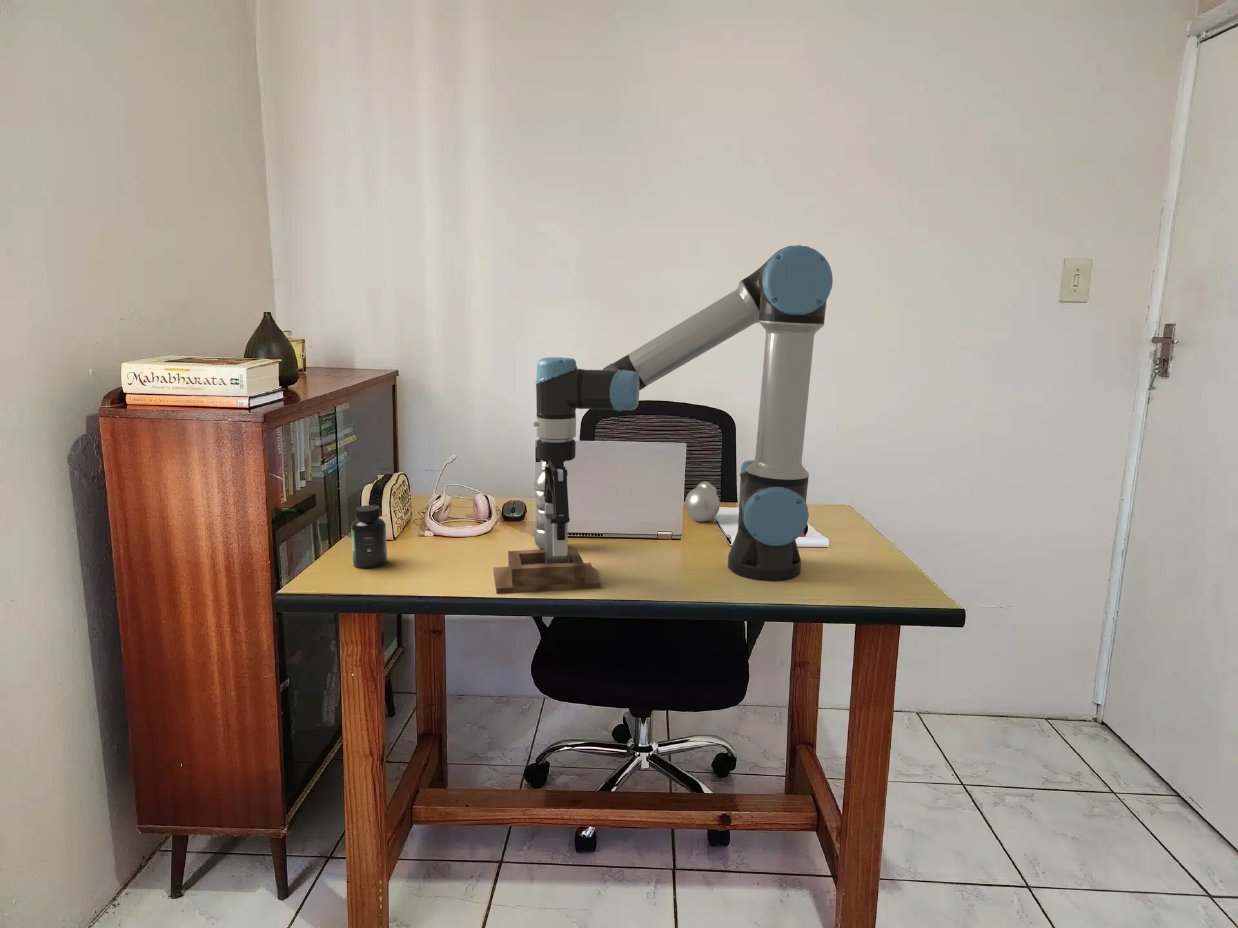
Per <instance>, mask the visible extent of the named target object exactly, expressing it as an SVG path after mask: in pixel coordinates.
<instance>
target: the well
mask: <svg viewBox="0 0 1238 928" xmlns="http://www.w3.org/2000/svg"><path fill="white" fill-rule="evenodd" d="M507 554H508V555H507V557H508V558H507V559H508V562H507V563H508V566H495V567H494V566H493V568H492V569H493V577H494V585H495V593H496V594H507V593H508V594H509V593H510V594H511V593H523V592H524V593H527V592H543V591H544V592H548V591H563V590H579V589H580V590H583V589H600V588H601V581H600V579H599V577H598V575H597V572H596V571H595V569H594V567H593V565H592V563H591V562H584V561H583V558H582V556H581V554H580V553H579V550H578V548H577V547H572V548H570V547H568V551H567V563H556V564H535V563H545V549H526V550H525V549H522V550H508V553H507ZM525 564H535V565H525Z"/></svg>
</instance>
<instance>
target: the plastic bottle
mask: <svg viewBox="0 0 1238 928" xmlns="http://www.w3.org/2000/svg"><path fill="white" fill-rule="evenodd" d="M545 467H546V461H542V460H540V466H539V469H540V471H541V472H540V473H539V474H538V475H537V476H536V477H535V479H534V484H533V486H534V487H533V489H534V494H535V500H536V502H535V503H536V523H535V524H536V526H535V528H534V529H535V530H534V543H535V545H536V547H538V548H539V549H540V550H544V549H545V504H547V503H545V497H544V487H545Z"/></svg>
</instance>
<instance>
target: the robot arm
mask: <svg viewBox="0 0 1238 928" xmlns="http://www.w3.org/2000/svg"><path fill="white" fill-rule="evenodd" d="M832 272H833V271H832V269H831V266H830V264H829V261H828V260H827V259H826V257H825V256H824V255H823V254H821V253H820V252H819V251H818V250H817V249H815V248H813V247H809V246H808V245H807V246H806V245H802V244H801V245H800V244H797V245H788V246H785V247H783V248H780V249H779V250H777V251H776V252H774V254H773V255H771V256H770V257H769V258H768V259H767V261H765V262H764V263H763V264H762V265H761V266H760V267H759V268H757V269H756V270H755V271H754V272H752V273H751V274H749V275H748V276H746V277H745V278H743V279H742V280H740V281H739V283H738V287H737V288H736V289H734V290H733V291H731V292H729V293H728V294H726V295H725V296H723V297H721V298H720V299H718V300H717V301H715V302H713V303H711V304H710V305H708V306H706V307H705V308H703V309H701V310H699V311H698V312H696V313H695V314H692V315H691V316H690V317H688V318H686V319H684V320H683V321H681V322H680V323H678V324H676V325H675V326H673V327H671V328H670V329H668V330H666V331H663V333H661V334H659V335H657V336H656V337H654V338H652V339H651V340H650V341H647V342H646V343H644V344H643V345H642V346H640V347H637V348H635V350H632V351H631V352H629V353H628V354H627V355H624V356H623V357H621V358H619V359H618V360H616V361H615V362H612V363H610V364H608V365H606V366H605V367H604V368H602V369H584V368H583V369H582V368H578V365H577V361H576V360H575V358H571V357H558V356H557V357H555V356H554V357H551V356H550V357H544V358H540V359H539V360H538V362H537V364H536V380H535V388H536V389H535V391H536V393H535V394H536V398H535V399H536V400H535V401H536V420H537V421H533V427H535V428H536V437H537V438H538V439H537V440H536V450H535V451H536V452H535V453H536V458H537V459H538V460H540V461H541V460H542V461H546V467H545V487H544V497H545V503H547V504H545V514H554V519H551V521H550V524H553V556H567V551H568V548H569V547H568V545H569V544H568V543H569V542H568V533H569V531H568V527H569V526H568V525H569V524H568V523H570V520H571V519H570V511H569V509H570V508H569V493H568V490H569V489H568V474H569V473H568V469H566V466H565V462H569V461H573V460H575V458H576V449H577V448H576V447H577V445H576V442H577V441H576V440H575V439H574V438H576V435H577V414H576V411H577V409H579V410H584V409H585V410H604V411H606V410H607V411H617V412H622V411H634V410H636V409H637V408H638V405H639V402H640V400H639V399H640V391H642V390H643V389H645V388H646V387H648V386H649V385H651V384H653V383H654V382H656V381H658V380H659V379H661V378H663V377H664V376H667V375H668V374H670V373H672V372H673V371H675V370H677V369H679V368H681V367H682V366H684V365H686V364H687V363H689V362H691V361H692V360H695V359H696V358H698V357H699V356H701V355H703V354H704V353H707V352H708V351H709V350H711V349H714V348H716V346H718V345H720V344H722V343H723V342H725V341H727V340H729V339H730V338H733V337H734V336H735V335H737V334H739V333H741V332H742V331H744V330H746V329H748V328H749V327H751V326H753V325H754V324H757V323H759V325H760V326H761V327H762V328H763V329H764V331H765V342H764V354H763V366H762V377H761V386H760V387H761V388H760V399H759V410H758V411H759V412H758V423H757V434H756V444H755V454H754V455H755V458H754V459H753V460H746V461H744V462H743V463H742V464H741V469H740V472H739V477H740V481H739V482H740V483H739V484H740V485H739V498H738V499H739V501H738V502H739V504H738V522H737V523H738V525H737V532H736V535H735V538H734V540H733V543H732V545H731V547H730V549H729V553H728V557H727V568H728V569H729V570H730V571H731V572H733V573H734V574H737V575H738V576H742V577H745V578H749V579H756V580H761V581H762V580H764V581H781V580H782V581H783V580H789V579H793V578H795V577H797V576H798V575H800V574H801V570H802V558H801V555H800V551H799V548H798V544H797V539H798V538H799V537H800V536H801V535H802V534H803V533H804V531H805V529H806V527H807V525H808V521H809V514H810V513H809V507H808V505H807V497H808V486H809V477H810V473H809V472H808V471H807V469H806V468H805V467H804V466H803V464H802V462H803V453H804V452H803V451H804V442H805V433H806V432H805V431H806V421H807V413H808V412H807V411H808V402H809V393H810V391H809V390H810V383H811V374H812V373H811V371H812V364H813V353H814V351H813V350H814V342H815V335H816V333H817V332H818V331H819V330H821V329H822V328H823V327H824V326H825V318H826V310H827V300H828V298H829V296H830V294H831V291H832V289H833V288H832V287H833V284H834V283H833V282H834V281H833V279H834V278H833V273H832ZM559 515H564V516H559Z"/></svg>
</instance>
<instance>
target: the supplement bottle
mask: <svg viewBox="0 0 1238 928" xmlns="http://www.w3.org/2000/svg"><path fill="white" fill-rule="evenodd" d="M380 517H381V508H380V506H378V505H373V504H369V505H368V504H367V505H361V506H358V507H356V508H355V518H356V519H355V520H354V521H353V522H352V524H351V527H350V531H351V533H350V534H351V550H352V551H351V552H352V563H353V565H354V567H356V568H359V569H364V570H365V569H366V570H367V569H376V568H380V567H382V566H384V565H386V563H387V561H388V546H387V544H388V543H387V526H386V525H387V524H386V523H385V520H383V518H380Z"/></svg>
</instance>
